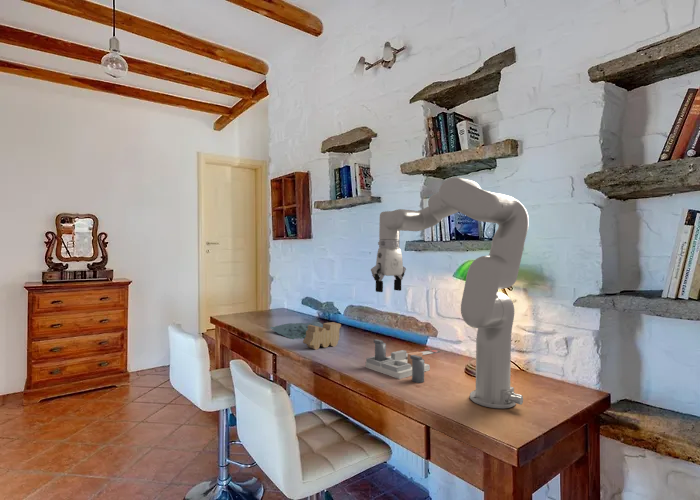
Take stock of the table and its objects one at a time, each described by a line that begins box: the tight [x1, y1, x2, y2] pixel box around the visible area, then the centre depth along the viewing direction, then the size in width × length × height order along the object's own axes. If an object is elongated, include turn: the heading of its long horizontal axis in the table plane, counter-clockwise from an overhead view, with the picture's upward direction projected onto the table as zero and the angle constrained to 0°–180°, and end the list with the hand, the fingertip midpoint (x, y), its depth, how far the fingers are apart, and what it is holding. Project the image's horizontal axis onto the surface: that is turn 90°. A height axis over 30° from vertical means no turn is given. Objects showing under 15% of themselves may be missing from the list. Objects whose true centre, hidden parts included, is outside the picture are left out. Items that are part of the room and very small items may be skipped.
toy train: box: [302, 321, 342, 351], centre depth 178 cm, size 6×17×10 cm, turn 130°
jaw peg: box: [410, 355, 425, 384], centre depth 133 cm, size 5×4×8 cm
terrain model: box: [270, 321, 323, 340], centre depth 207 cm, size 26×28×5 cm
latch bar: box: [407, 350, 424, 366], centre depth 145 cm, size 2×6×4 cm, turn 130°
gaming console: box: [404, 347, 441, 357], centre depth 169 cm, size 22×1×10 cm
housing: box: [365, 339, 431, 380], centre depth 146 cm, size 17×16×10 cm
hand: (388, 291), depth 147 cm, fingers open, 9 cm apart
